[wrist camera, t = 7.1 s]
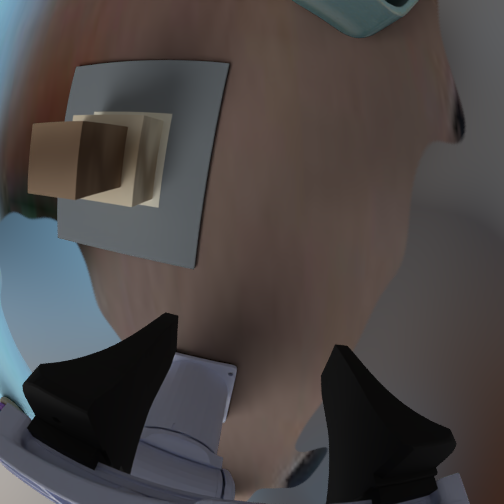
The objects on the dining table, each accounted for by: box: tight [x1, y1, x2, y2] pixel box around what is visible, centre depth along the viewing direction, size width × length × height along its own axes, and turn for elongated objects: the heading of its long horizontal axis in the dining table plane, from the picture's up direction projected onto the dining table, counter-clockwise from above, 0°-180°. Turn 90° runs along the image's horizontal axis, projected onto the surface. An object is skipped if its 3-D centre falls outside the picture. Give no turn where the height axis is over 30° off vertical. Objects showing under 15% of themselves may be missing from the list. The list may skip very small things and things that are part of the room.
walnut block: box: [28, 121, 128, 200], centre depth 14 cm, size 4×4×5 cm
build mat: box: [57, 60, 230, 269], centre depth 20 cm, size 16×14×1 cm
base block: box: [73, 115, 163, 207], centre depth 18 cm, size 6×6×4 cm
